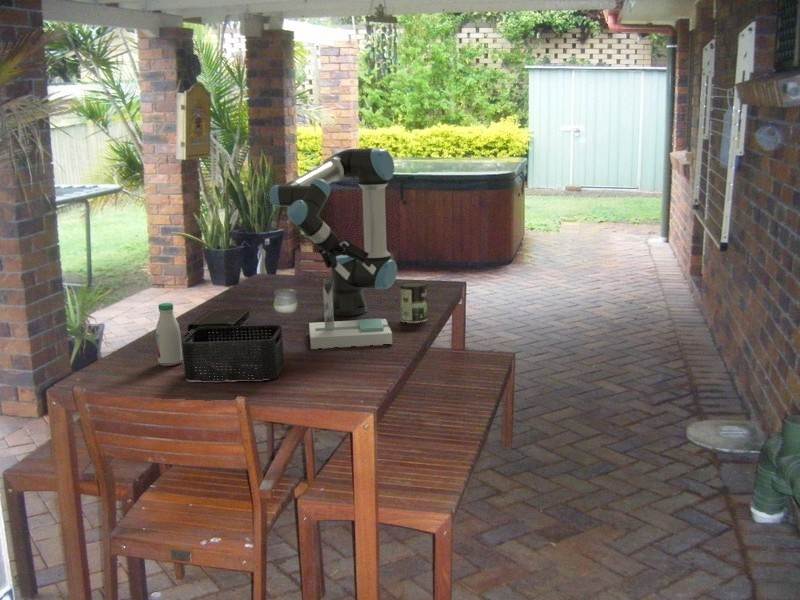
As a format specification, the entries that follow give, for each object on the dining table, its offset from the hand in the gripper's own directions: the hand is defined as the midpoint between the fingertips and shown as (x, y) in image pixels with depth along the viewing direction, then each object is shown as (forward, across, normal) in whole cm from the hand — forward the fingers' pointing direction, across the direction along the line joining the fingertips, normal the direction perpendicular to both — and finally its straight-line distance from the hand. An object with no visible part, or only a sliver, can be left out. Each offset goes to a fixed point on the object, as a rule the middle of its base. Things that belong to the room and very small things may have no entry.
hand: (361, 274), depth 328 cm
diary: (-9, -55, -24) cm, 61 cm away
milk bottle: (-33, -28, -60) cm, 74 cm away
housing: (+10, -3, -21) cm, 24 cm away
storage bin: (-25, -2, -60) cm, 65 cm away
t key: (+4, -7, -24) cm, 25 cm away
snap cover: (+12, +3, -15) cm, 19 cm away
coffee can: (+33, -3, +4) cm, 34 cm away
